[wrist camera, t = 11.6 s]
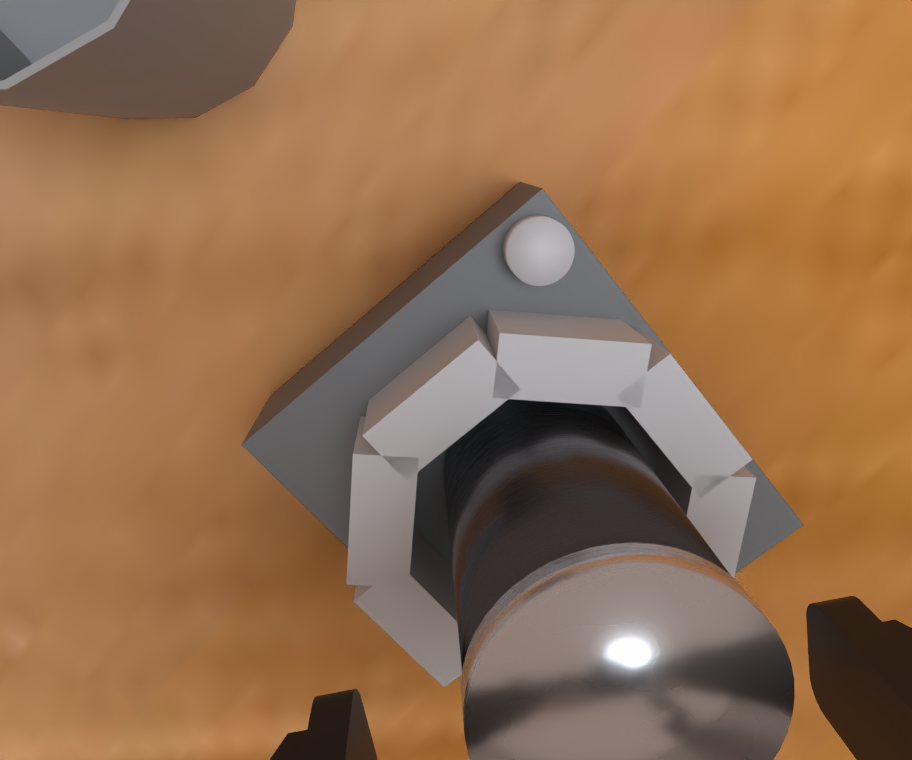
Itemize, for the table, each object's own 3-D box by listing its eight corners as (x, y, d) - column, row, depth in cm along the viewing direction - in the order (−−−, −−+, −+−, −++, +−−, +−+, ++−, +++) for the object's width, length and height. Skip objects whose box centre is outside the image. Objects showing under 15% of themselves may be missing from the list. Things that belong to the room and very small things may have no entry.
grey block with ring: (743, 466, 25) (853, 573, 18) (510, 639, 26) (540, 790, 20) (519, 182, 22) (562, 194, 15) (270, 396, 23) (217, 486, 17)
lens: (627, 370, 19) (801, 551, 11) (632, 543, 21) (787, 823, 12) (431, 392, 19) (448, 594, 10) (451, 564, 21) (479, 862, 12)
